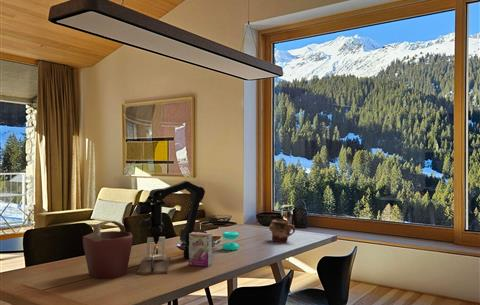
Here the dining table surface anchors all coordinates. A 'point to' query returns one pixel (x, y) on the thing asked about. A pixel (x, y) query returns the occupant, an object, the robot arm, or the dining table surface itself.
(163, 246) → the hollow square tube
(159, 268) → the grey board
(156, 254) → the bent copper wire
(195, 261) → the candy bar box
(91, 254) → the bucket
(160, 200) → the robot arm
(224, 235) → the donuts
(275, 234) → the brown ceramic mug
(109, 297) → the dining table surface
